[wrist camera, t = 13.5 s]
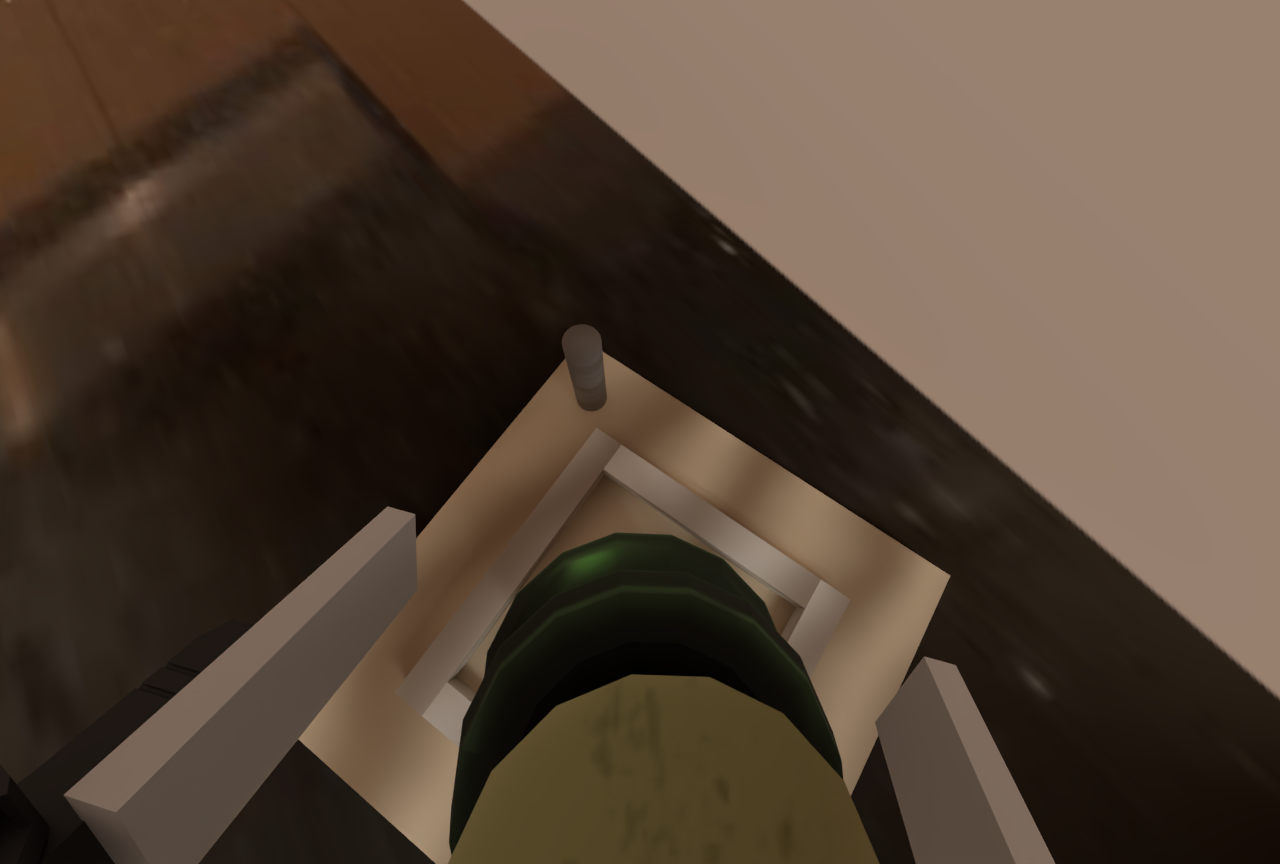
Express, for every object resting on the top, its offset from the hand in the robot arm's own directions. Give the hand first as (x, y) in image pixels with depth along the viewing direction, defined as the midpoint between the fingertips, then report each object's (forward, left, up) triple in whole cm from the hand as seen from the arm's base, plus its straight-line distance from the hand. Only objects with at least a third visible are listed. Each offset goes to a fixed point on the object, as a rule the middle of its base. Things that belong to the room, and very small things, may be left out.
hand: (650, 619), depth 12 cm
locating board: (-1, +2, -11) cm, 12 cm away
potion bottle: (-1, +2, -10) cm, 10 cm away
